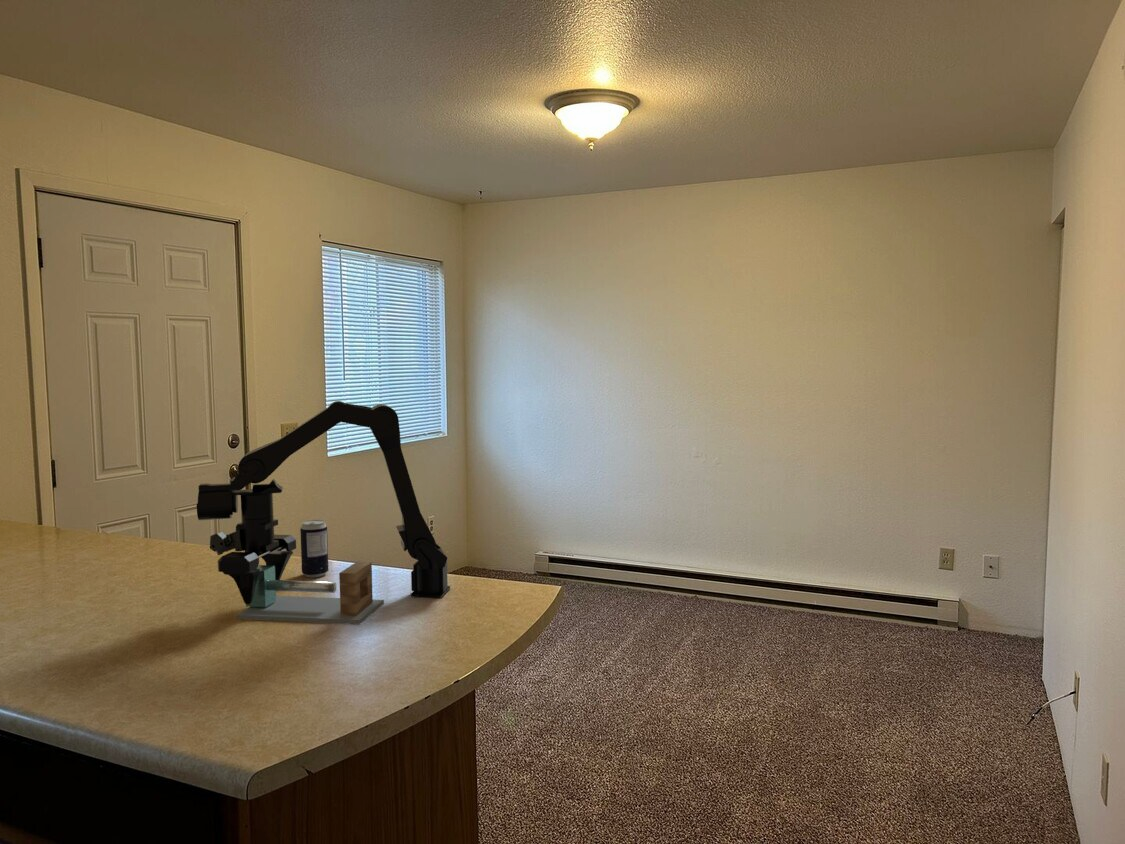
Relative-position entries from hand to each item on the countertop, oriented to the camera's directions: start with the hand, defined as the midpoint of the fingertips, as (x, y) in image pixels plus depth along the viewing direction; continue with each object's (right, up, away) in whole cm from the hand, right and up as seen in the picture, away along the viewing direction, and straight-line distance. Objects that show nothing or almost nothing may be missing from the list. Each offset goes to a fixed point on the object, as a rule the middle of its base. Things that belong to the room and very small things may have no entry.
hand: (260, 596), depth 151 cm
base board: (+10, -3, -1) cm, 11 cm away
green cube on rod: (+6, -1, -1) cm, 7 cm away
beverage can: (+3, -1, +24) cm, 24 cm away
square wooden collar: (+19, -3, -3) cm, 20 cm away
